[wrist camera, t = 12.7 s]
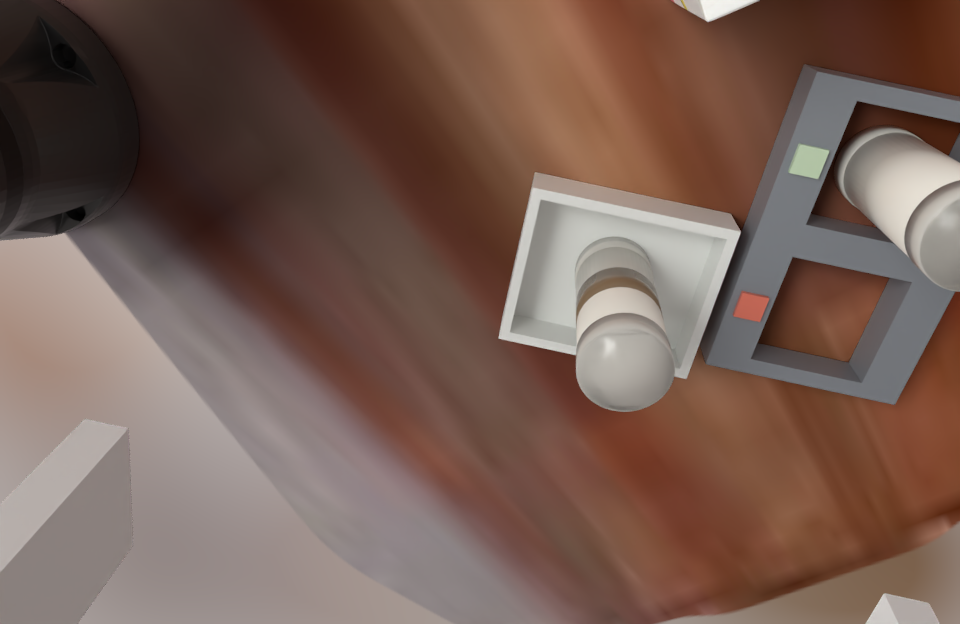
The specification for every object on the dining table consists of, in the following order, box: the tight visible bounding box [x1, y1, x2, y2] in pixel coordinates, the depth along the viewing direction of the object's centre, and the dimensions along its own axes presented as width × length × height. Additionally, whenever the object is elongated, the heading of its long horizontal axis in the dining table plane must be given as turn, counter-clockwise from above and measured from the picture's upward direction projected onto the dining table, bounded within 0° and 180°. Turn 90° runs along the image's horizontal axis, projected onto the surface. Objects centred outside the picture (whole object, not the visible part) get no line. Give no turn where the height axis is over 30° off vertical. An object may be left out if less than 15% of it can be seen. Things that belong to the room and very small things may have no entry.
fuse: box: [834, 125, 960, 292], centre depth 38 cm, size 5×5×12 cm
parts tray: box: [498, 172, 741, 379], centre depth 46 cm, size 12×10×3 cm
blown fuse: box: [575, 237, 675, 412], centre depth 42 cm, size 5×5×12 cm
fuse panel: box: [700, 64, 960, 405], centre depth 44 cm, size 12×18×3 cm, turn 169°
